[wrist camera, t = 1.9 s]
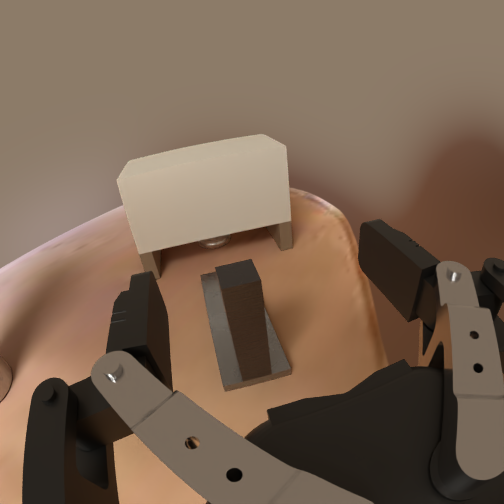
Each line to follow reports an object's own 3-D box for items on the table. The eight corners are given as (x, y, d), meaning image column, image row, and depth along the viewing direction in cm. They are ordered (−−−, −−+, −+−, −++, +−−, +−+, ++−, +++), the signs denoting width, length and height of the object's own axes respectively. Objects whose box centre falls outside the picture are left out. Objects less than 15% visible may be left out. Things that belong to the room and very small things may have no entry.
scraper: (291, 375, 30) (286, 273, 23) (225, 392, 29) (194, 295, 22) (247, 271, 46) (235, 188, 39) (202, 281, 45) (182, 200, 38)
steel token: (193, 249, 54) (191, 241, 53) (206, 232, 59) (204, 225, 58) (224, 251, 52) (222, 243, 52) (235, 233, 57) (234, 226, 56)
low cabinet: (292, 248, 50) (285, 145, 41) (148, 280, 47) (116, 180, 38) (268, 215, 62) (260, 132, 53) (151, 240, 58) (129, 158, 49)
